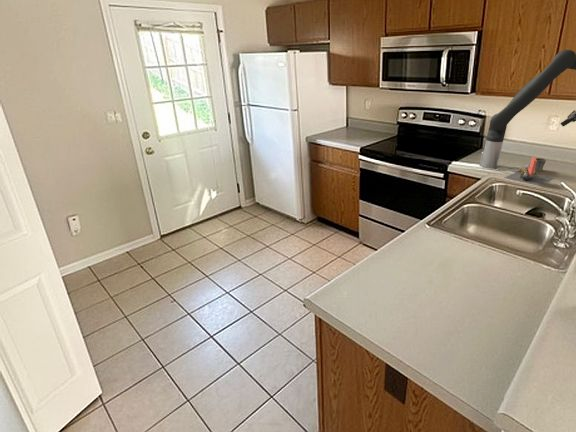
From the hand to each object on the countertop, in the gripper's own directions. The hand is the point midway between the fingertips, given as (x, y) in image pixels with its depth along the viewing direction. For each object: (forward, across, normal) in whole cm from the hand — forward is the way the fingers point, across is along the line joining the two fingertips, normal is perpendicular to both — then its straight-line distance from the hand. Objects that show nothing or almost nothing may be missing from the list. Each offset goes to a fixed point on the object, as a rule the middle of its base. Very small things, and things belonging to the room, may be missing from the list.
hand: (561, 125), depth 202 cm
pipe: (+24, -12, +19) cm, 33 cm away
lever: (+26, +14, +8) cm, 30 cm away
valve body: (+29, +8, +12) cm, 32 cm away
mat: (+29, +8, +14) cm, 33 cm away
